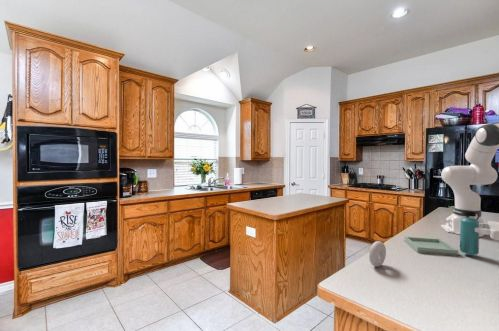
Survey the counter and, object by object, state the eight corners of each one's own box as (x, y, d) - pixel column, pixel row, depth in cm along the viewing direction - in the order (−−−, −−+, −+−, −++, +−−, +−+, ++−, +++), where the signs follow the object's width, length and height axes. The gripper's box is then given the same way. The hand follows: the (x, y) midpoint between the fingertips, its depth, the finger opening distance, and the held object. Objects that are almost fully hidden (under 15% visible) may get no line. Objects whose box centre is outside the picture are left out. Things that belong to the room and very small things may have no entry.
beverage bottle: (482, 258, 106) (484, 212, 106) (464, 257, 108) (466, 211, 107) (472, 253, 113) (473, 209, 112) (455, 252, 114) (456, 208, 114)
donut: (376, 271, 94) (376, 245, 94) (367, 268, 97) (367, 242, 97) (387, 264, 101) (387, 239, 101) (378, 261, 103) (379, 237, 103)
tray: (404, 241, 129) (404, 236, 129) (439, 243, 125) (439, 238, 125) (417, 252, 113) (417, 247, 113) (458, 256, 110) (458, 250, 109)
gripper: (516, 220, 108) (473, 215, 117) (525, 231, 92) (475, 224, 101) (515, 235, 108) (473, 229, 117) (525, 248, 92) (474, 240, 101)
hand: (474, 227), depth 109 cm, fingers open, 8 cm apart
